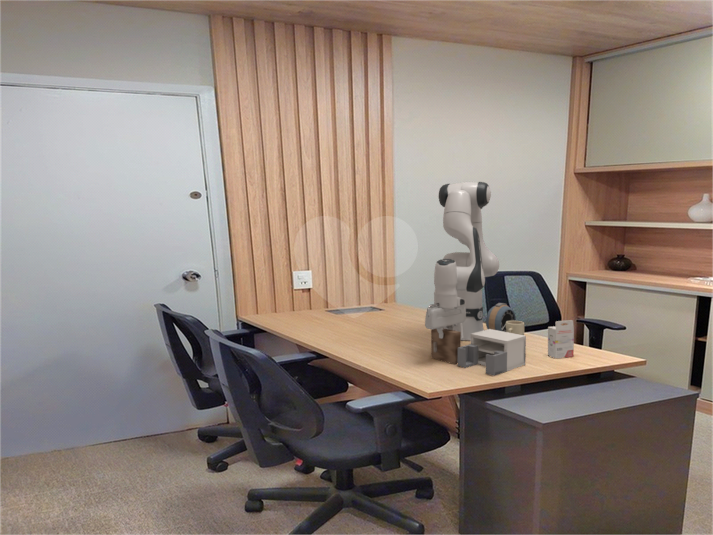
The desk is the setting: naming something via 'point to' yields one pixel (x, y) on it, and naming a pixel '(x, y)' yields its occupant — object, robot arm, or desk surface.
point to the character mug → (515, 327)
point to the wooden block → (445, 345)
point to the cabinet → (494, 351)
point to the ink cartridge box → (561, 339)
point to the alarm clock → (499, 317)
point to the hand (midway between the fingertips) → (445, 337)
